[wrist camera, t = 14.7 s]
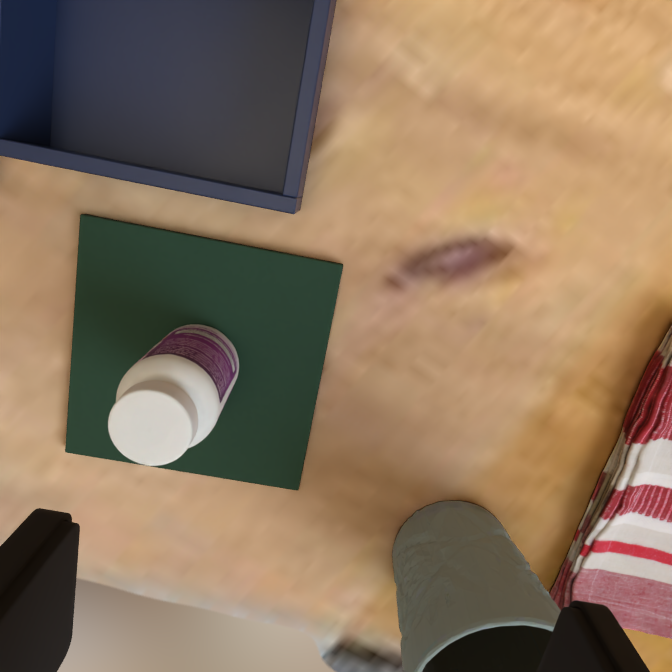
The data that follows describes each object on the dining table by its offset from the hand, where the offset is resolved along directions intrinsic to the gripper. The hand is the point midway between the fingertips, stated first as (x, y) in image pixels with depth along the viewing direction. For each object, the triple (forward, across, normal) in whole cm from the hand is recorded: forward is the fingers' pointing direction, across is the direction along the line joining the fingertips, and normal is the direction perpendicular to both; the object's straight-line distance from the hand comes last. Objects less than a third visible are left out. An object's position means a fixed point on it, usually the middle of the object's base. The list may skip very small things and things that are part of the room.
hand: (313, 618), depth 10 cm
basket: (+25, +11, -12) cm, 30 cm away
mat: (+24, +8, +5) cm, 26 cm away
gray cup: (+25, -12, +16) cm, 32 cm away
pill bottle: (+24, +8, +5) cm, 26 cm away
